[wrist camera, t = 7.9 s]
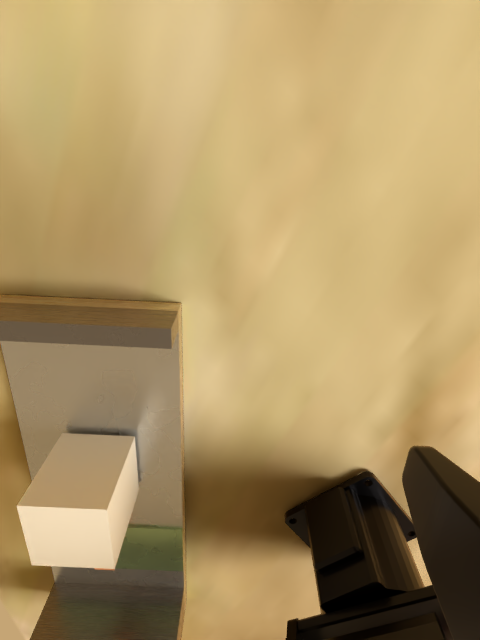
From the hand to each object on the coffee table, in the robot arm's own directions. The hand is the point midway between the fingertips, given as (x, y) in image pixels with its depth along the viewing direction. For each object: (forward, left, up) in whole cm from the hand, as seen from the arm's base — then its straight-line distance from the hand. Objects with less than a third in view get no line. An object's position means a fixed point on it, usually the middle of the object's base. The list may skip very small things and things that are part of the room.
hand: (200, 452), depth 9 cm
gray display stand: (-6, +14, -12) cm, 19 cm away
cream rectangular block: (-6, +14, -11) cm, 19 cm away
